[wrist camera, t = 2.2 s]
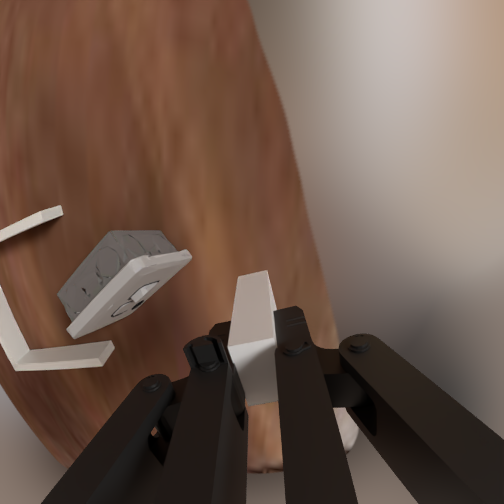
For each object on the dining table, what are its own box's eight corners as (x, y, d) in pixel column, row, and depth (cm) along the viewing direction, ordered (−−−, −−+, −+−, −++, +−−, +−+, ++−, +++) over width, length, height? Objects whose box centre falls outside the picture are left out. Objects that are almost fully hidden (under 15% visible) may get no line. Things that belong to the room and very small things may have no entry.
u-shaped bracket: (-19, 242, 27) (-37, 250, 24) (60, 205, 26) (40, 211, 23) (29, 356, 32) (15, 370, 28) (114, 348, 30) (102, 366, 27)
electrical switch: (131, 313, 29) (84, 358, 20) (98, 274, 29) (42, 306, 20) (196, 255, 28) (161, 288, 19) (159, 211, 27) (108, 224, 18)
